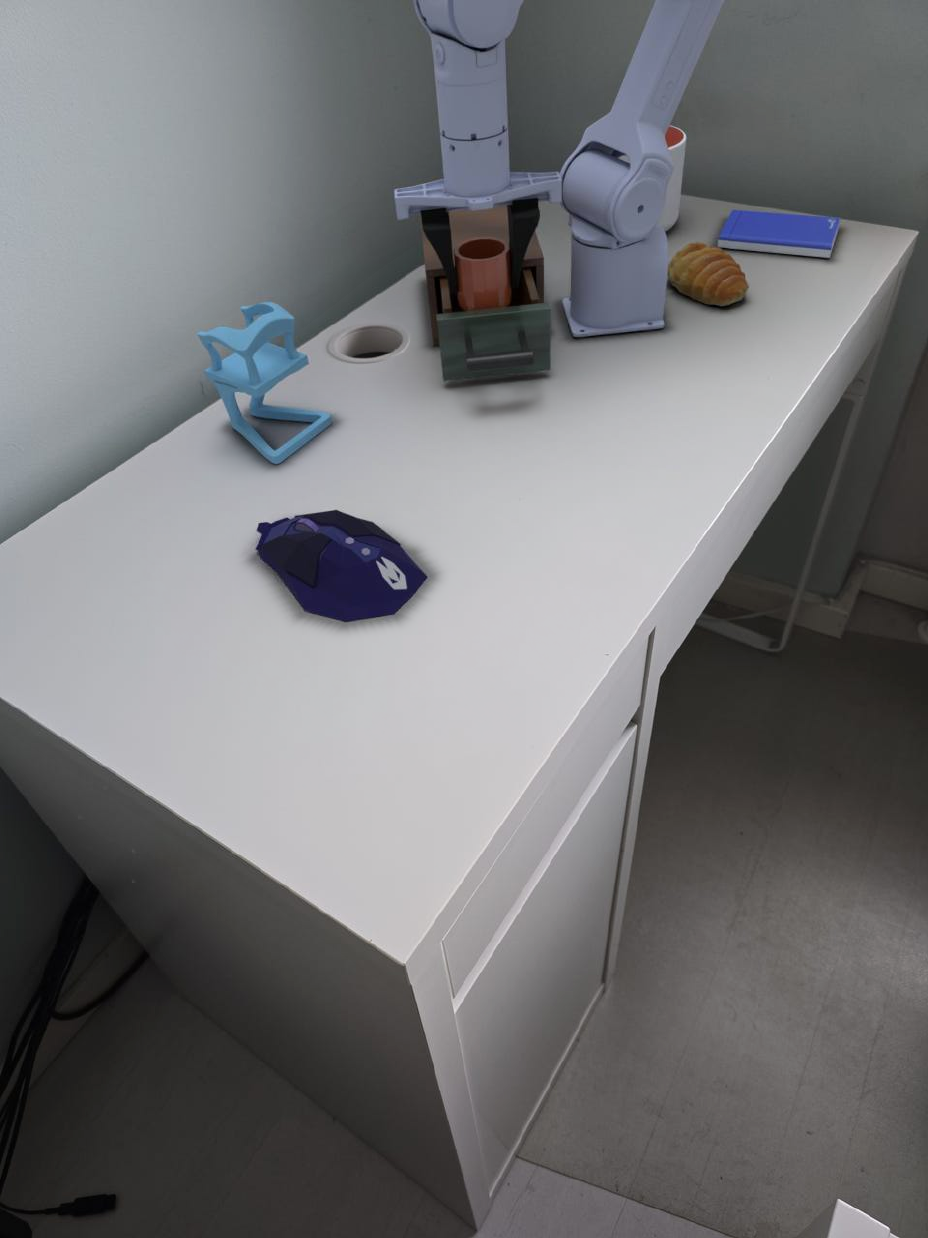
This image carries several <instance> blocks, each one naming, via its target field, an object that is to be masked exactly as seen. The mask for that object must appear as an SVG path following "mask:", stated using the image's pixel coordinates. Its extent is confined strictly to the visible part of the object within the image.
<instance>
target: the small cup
mask: <svg viewBox="0 0 928 1238" xmlns="http://www.w3.org/2000/svg"><path fill="white" fill-rule="evenodd" d="M454 262H455V273H456V280H457V288H458V294H457V296H458V304H459V306H460V307H461V308H462V309H463V310H465V311H473V310H482V309H492V308H501V307H507V306H508V305H509V304H510V302H511V296H512V291H511V265H510V247H509V244H508V243H507V242H505V241H504V240H502V239H498V238H493V237H478V238H473V239H468V240H466V241H463V242H461V243H459V244H458V245H457V246H456V247H455V248H454Z"/></svg>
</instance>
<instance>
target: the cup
mask: <svg viewBox="0 0 928 1238" xmlns="http://www.w3.org/2000/svg"><path fill="white" fill-rule="evenodd" d="M665 140H666V143H667V146H668V149H669V152H670V154H671V157H672V160H673V163H674V170H673V173H672V175H671V177H670V180H669V182H668V185H667V189H666V196H665V204H664V208H663V211H662V214H661V216H660V219H659V221H658V222H657V224H656V225H657V226H662V227H663V228H664V230H665V233H666V232H667V231H669V230H670V229H671V228H673V226H674V225H675V224H676V222H677V220H678V218H679V215H680V214H679V213H680V206H681V205H680V204H681V195H682V184H683V176H684V175H683V174H684V167H685V155H686V146H687V135H686V133H685V131H683V130H682V129H681V128H679V127H677V126H673V125H671V124H670V125H669V128H668V130H667V132H666V134H665ZM619 159H621V160H623V161H625V162H628V163H630V159H629V157H628V156H625V155H624V156H621V157H619Z"/></svg>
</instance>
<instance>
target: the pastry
mask: <svg viewBox="0 0 928 1238" xmlns="http://www.w3.org/2000/svg"><path fill="white" fill-rule="evenodd" d="M741 268H742V267H741V265H740V264H739V263H737V261H736V260H735V259H734V258H733V257H732V255H731V254H730V253H726V252H725V250H724V249H722V247H715V246H714V247H710V246H709V245H708V243H705V242H699V241H695V242H690V243H688V244H686V245H685V246H684V247H683V248H681V249H680V250H678V251H676V253H675V254H674V256H673V257H672V259H671V260H670V262H669V263H668V274H667V278H668V280H669V282H670V284H671V286H672V287H675V288H676V289H677V291H678V292H679V293H681V294H682V295H684V296H688V297H689V298H691V299H692V300H693V301H698V302H699V303H702V304H705V305H710V306H711V305H715V306H720V307H725V306H729V305H731V304H734V303H737V302H739V301H741V300H743V299H744V297H745V295H746V293H747V292H748V290H749V283H748V282H747V279H746V273H745V272H743V271H742V269H741Z"/></svg>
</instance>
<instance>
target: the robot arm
mask: <svg viewBox="0 0 928 1238" xmlns="http://www.w3.org/2000/svg"><path fill="white" fill-rule="evenodd" d="M524 1H525V0H413V6H414V11H415V13H416V15H417V18H418V20H419V22H420V23H421V25H422V27H423V28H424V29H425V30H426V31H427V33H428V35H429V39H430V42H431V43H430V44H431V53H432V58H433V59H432V60H433V71H434V79H435V80H434V81H435V94H436V104H437V105H436V106H437V116H438V126H439V127H438V128H439V138H440V150H441V161H442V172H443V178H441V179H437V180H433V181H429V182H426V183H421V184H417V185H413V186H408V187H407V186H406V187H402V188H401V187H400V188H394V190H393V192H394V194H393V195H394V203H395V204H394V205H395V211H396V219H397V220H398V221H400V220H401V221H403V220H408V219H410V218H411V216H418V215H419V216H420V214H421V220H422V228H423V231H424V233H425V235H426V237H427V239H428V240H429V242H430V243H431V245H432V247H433V248H434V250H435V252H436V254H437V256H438V258H439V260H440V262H441V264H442V266H443V269H444V271H445V274H446V277H447V280H448V284H449V288H450V294H451V295H453V294H458V288H457V280H456V273H455V267H454V262H453V252H452V239H451V228H450V220H449V213H448V211H457V210H466V209H470V210H472V211H476V210H485V209H491V208H493V207H494V206H504V205H507V212H508V227H509V247H510V265H511V288H518V287H519V279H520V273H521V268H522V264H523V260H524V257H525V254H526V251H527V248H528V245H529V243H530V240H531V238H532V236H533V234H534V232H536V229H537V228H538V226H539V223H540V219H541V210H540V206H539V203H541V202H548V203H549V204H560V207H562V209H563V210H564V211H565V212H566V213H568V226H569V227H571V241H570V242H571V245H570V247H571V248H570V297H564V298H562V300H561V305H562V308H563V311H564V314H565V317H566V320H567V324H568V326H569V329H570V332H571V336H572V337H574V338H584V337H591V336H601V335H612V334H620V333H631V332H639V331H650V330H659V329H663V328H665V325H666V323H665V321H664V317H665V316H664V315H665V303H666V293H667V284H668V283H667V282H668V265H669V242H668V237H667V233H666V232H665V230H664V228H663V227H662V226H657V225H656V224H657V222H658V221H659V219H660V216H661V214H662V211H663V208H664V204H665V196H666V189H667V185H668V182H669V180H670V177H671V175H672V173H673V170H674V163H673V160H672V157H671V154H670V152H669V149H668V146H667V143H666V140H665V134H666V132H667V130H668V128H669V125H670V126H671V123H672V121H673V119H674V116H675V114H676V112H677V110H678V108H679V105H680V102H681V100H682V98H683V96H684V93H685V91H686V89H687V87H688V84H689V82H690V79H691V77H692V76H693V73H694V71H695V69H696V66H697V63H698V61H699V60H700V57H701V55H702V52H703V50H704V48H705V45H706V43H707V41H708V39H709V37H710V34H711V32H712V29H713V28H714V25H715V23H716V21H717V18H718V17H719V14H720V11H721V10H722V7H723V5H724V2H725V0H655V1H654V4H653V5H652V8H651V11H650V13H649V16H648V18H647V20H646V23H645V26H644V28H643V30H642V33H641V35H640V39H639V40H638V43H637V45H636V48H635V50H634V53H633V55H632V58H631V60H630V63H629V65H628V68H627V69H626V72H625V75H624V77H623V80H622V82H621V84H620V86H619V89H618V92H617V94H616V97H615V99H614V102H613V104H612V106H611V110H610V111H609V112H608V113H607V114H606V115H604V116H603V117H601V118H599V119H598V120H597V121H595V122H593V123H591V124H590V125H589V126H588V127H587V128H586V129H584V133H583V135H582V138H581V140H580V142H579V144H578V145H577V147H576V149H575V150H574V151H573V152H572V153H571V154H570V156H569V157H568V158H566V160H565V162H564V163H563V166H562V167H561V170H560V172H559V171H549V172H548V171H547V172H526V171H523V172H522V171H511V170H510V169H511V168H510V141H509V140H510V139H509V118H508V117H509V116H508V90H507V89H508V88H507V61H506V60H507V59H506V39H507V38H509V36H510V35H511V33H512V32H513V30H514V29H515V26H516V23H517V20H518V16H519V13H520V9H521V7H522V4H523V3H524ZM624 155H625V156H628V157H629V159H630V163H628V162H625V161H623V160H621V159H619V157H621V156H624Z"/></svg>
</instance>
